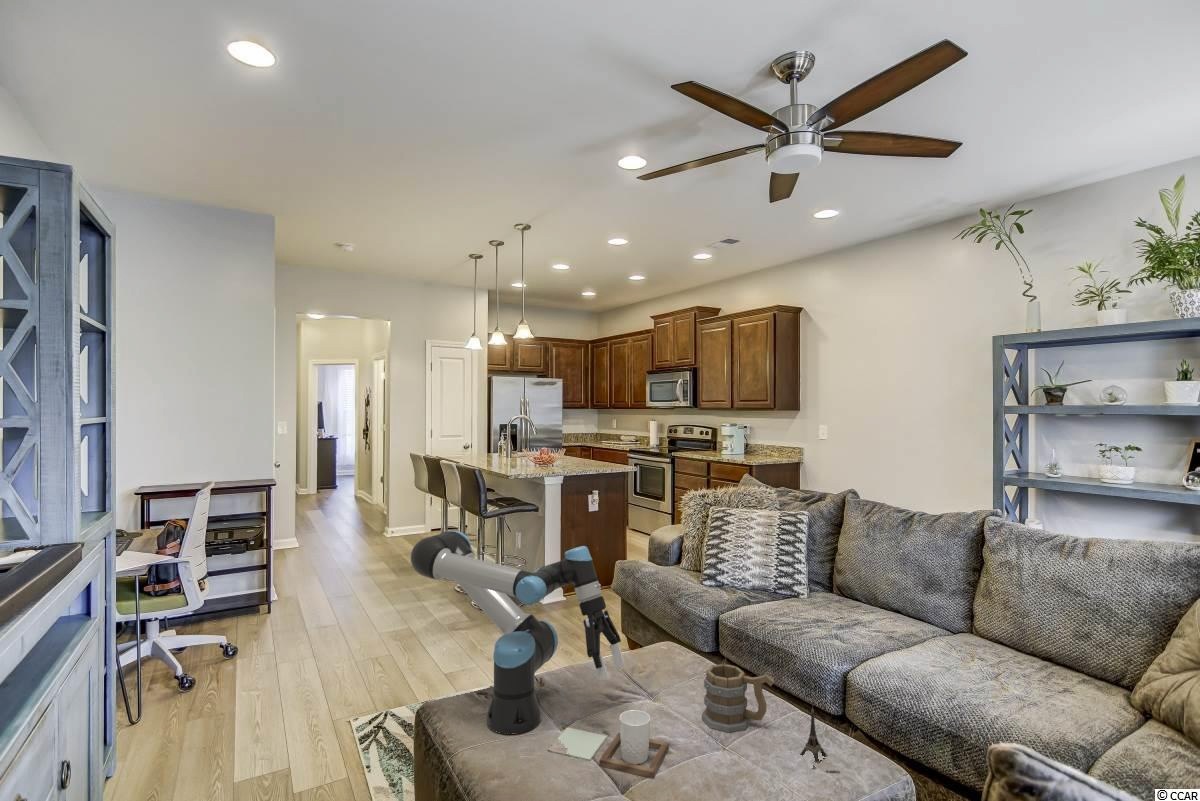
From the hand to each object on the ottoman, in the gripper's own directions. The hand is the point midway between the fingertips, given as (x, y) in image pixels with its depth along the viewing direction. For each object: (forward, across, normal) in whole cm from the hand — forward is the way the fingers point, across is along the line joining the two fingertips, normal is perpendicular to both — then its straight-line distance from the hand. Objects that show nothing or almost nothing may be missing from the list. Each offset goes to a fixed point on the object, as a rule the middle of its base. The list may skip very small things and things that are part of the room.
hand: (612, 673), depth 168 cm
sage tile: (+13, -13, +10) cm, 20 cm away
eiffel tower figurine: (+33, +5, -45) cm, 56 cm away
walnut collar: (+18, -13, -5) cm, 23 cm away
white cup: (+19, -13, -5) cm, 23 cm away
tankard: (+24, +14, -27) cm, 38 cm away
